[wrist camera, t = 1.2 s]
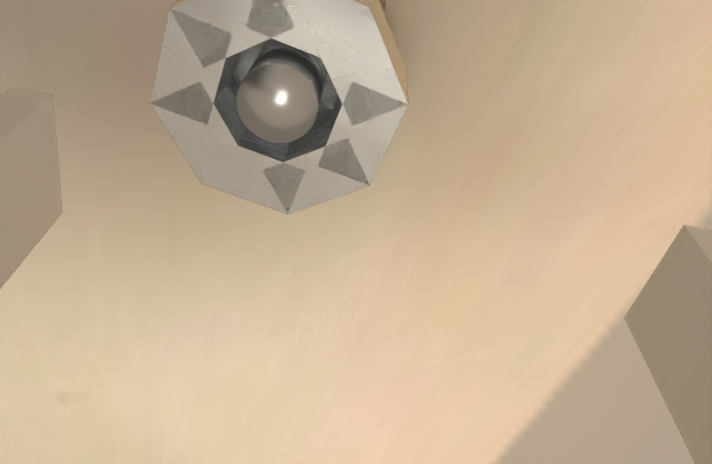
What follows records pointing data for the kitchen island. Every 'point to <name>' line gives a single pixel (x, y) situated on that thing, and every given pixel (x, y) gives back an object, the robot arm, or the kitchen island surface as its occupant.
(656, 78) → the kitchen island surface
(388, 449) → the kitchen island surface
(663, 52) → the kitchen island surface
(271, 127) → the stand
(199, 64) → the ring
